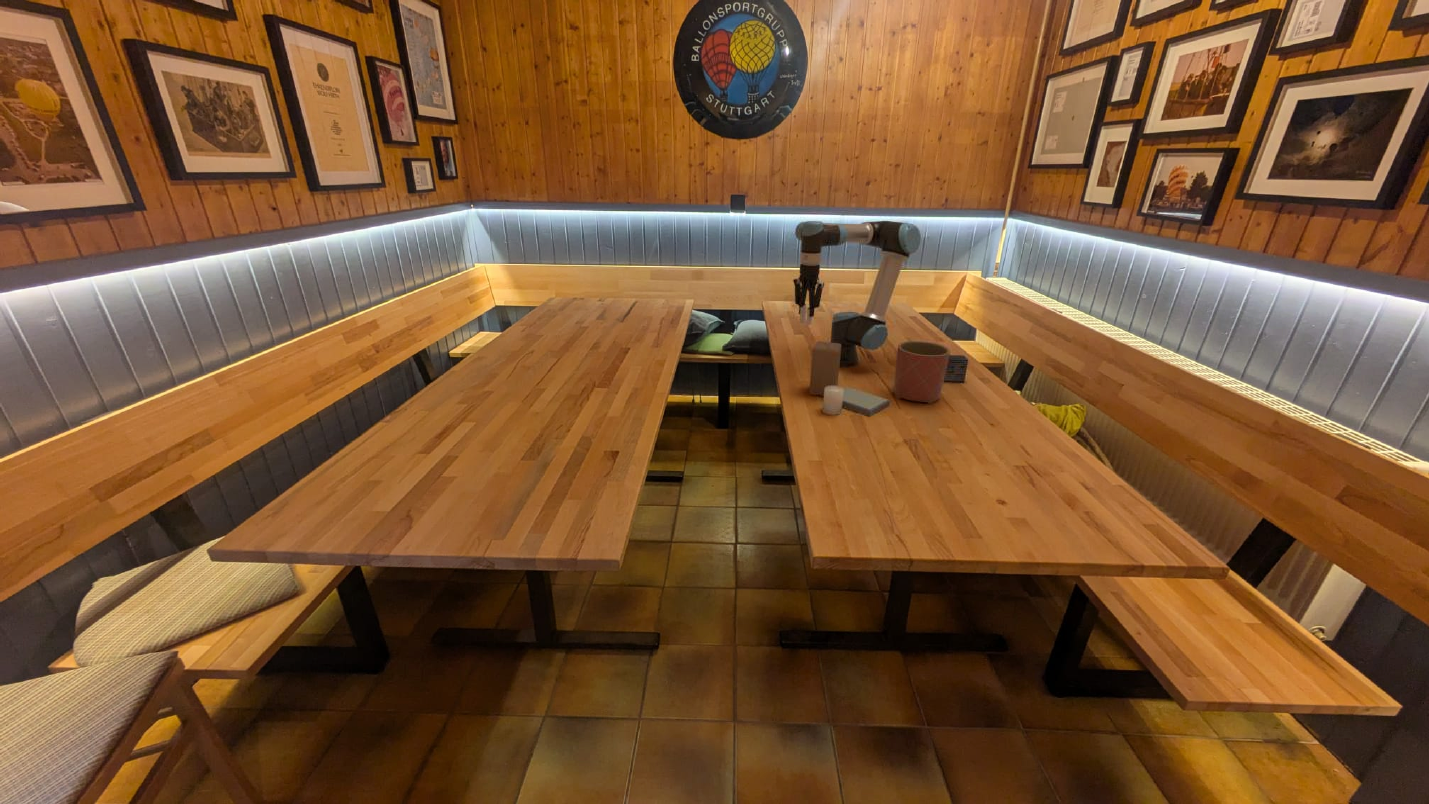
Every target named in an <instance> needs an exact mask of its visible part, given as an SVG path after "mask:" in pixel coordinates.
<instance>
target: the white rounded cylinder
mask: <svg viewBox="0 0 1429 804" xmlns="http://www.w3.org/2000/svg"><path fill="white" fill-rule="evenodd" d="M844 389H845V388H843V386H838V385H837V386H827V387H825V390H824V396H823V402H822V412H823V411H824V412H826V413H828V414H839V413H841V412H843V407H842V404H843V394H844ZM824 412H823V413H824ZM828 414H827V415H828ZM841 414H842V413H841ZM839 415H840V414H839Z"/></svg>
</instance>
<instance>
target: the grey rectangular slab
mask: <svg viewBox="0 0 1429 804" xmlns="http://www.w3.org/2000/svg"><path fill="white" fill-rule="evenodd" d="M843 389H844V394H843V404H842V406H843V407H846V408H848V409H847V410H849V409H852V410H854V411H853V412H855V411H856V412H855V413H858V412H860V413H859V414H861V413H862V414H861V415H864V414H866V415H865V416H867V415H868V416H867V417H871V415H872V416H874V415H875V414H877V413H879V412H880V410H881V411H882V409H883V410H884V409H886V408H888V407H890V402H891V400H889V399H888V398H887V399H886V398H884V397H880V396H877V395H874V394H871V393H868V392H865V391H863V390H862V391H861V390H858V389H854V388H852V387H848V386H846V387H844V388H843ZM843 407H842V408H843ZM846 408H845V409H846ZM852 410H851V411H852ZM873 414H874V415H873Z"/></svg>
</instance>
